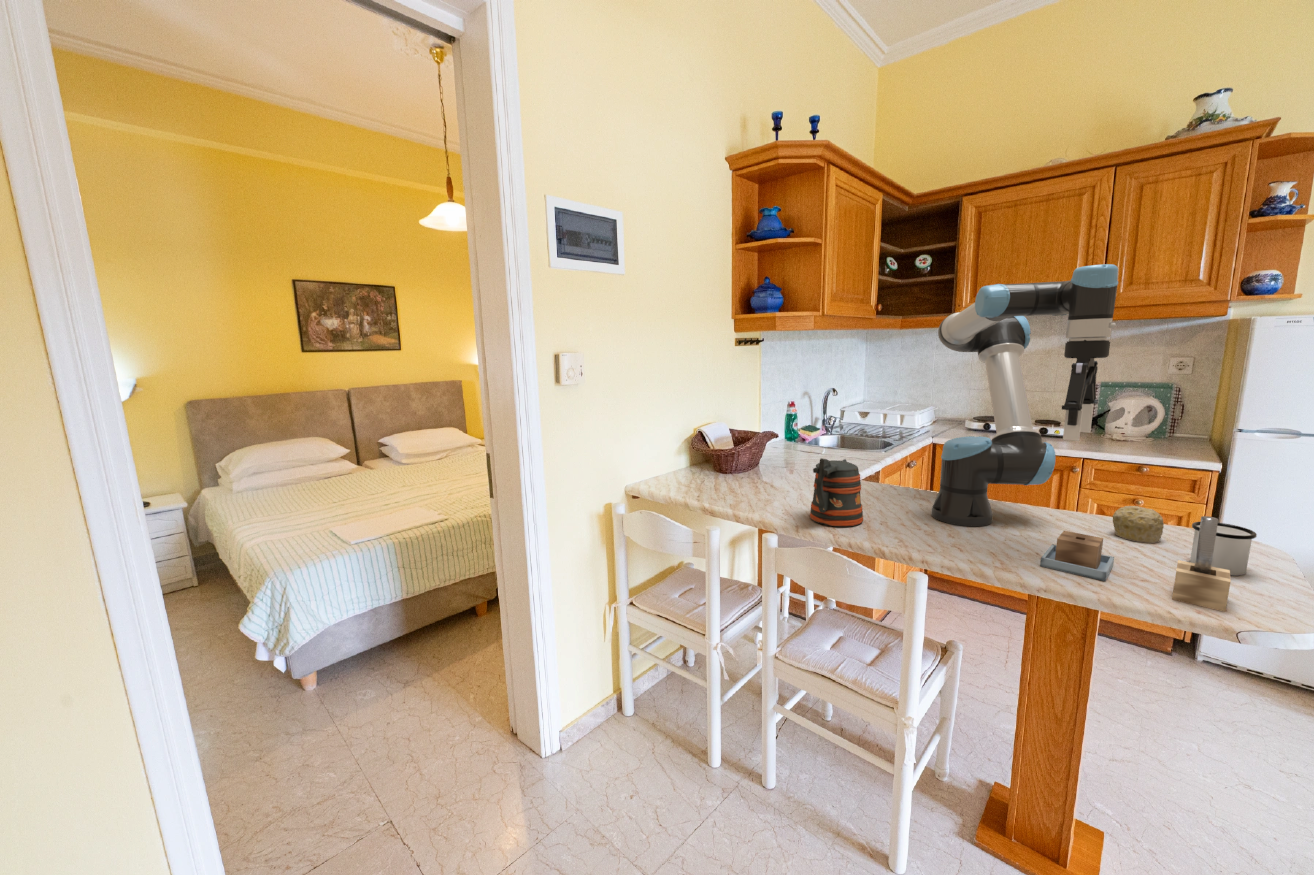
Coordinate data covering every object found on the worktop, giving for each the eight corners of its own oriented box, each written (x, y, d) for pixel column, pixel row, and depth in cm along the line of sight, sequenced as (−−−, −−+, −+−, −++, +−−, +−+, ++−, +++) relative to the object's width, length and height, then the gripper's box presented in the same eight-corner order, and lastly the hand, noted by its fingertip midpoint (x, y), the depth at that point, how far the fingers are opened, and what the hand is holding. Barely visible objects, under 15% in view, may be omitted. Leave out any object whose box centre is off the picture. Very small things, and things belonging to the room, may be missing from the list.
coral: (1170, 540, 128) (1175, 511, 126) (1144, 545, 125) (1149, 516, 124) (1128, 528, 136) (1131, 501, 135) (1103, 533, 134) (1106, 505, 133)
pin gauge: (1191, 592, 99) (1201, 518, 97) (1191, 588, 101) (1201, 515, 98) (1207, 596, 98) (1218, 521, 95) (1207, 591, 99) (1218, 517, 97)
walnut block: (1054, 564, 115) (1057, 538, 114) (1061, 555, 120) (1063, 530, 119) (1094, 573, 110) (1098, 546, 109) (1100, 563, 115) (1103, 538, 114)
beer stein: (848, 536, 137) (850, 463, 133) (795, 526, 146) (797, 457, 142) (869, 517, 152) (872, 450, 148) (820, 508, 160) (822, 446, 157)
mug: (1257, 581, 106) (1264, 539, 104) (1192, 571, 111) (1198, 531, 109) (1236, 560, 115) (1243, 522, 114) (1178, 552, 121) (1183, 515, 119)
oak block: (1171, 599, 100) (1176, 570, 99) (1173, 587, 104) (1178, 560, 103) (1225, 612, 95) (1230, 582, 94) (1224, 599, 99) (1229, 570, 98)
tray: (1040, 566, 116) (1040, 557, 115) (1051, 552, 123) (1052, 544, 123) (1105, 581, 107) (1106, 572, 107) (1113, 565, 115) (1114, 557, 115)
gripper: (1101, 339, 101) (1088, 446, 104) (1118, 338, 117) (1107, 430, 121) (1053, 340, 106) (1043, 441, 110) (1076, 339, 123) (1067, 427, 126)
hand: (1077, 436), depth 115 cm, fingers open, 13 cm apart
